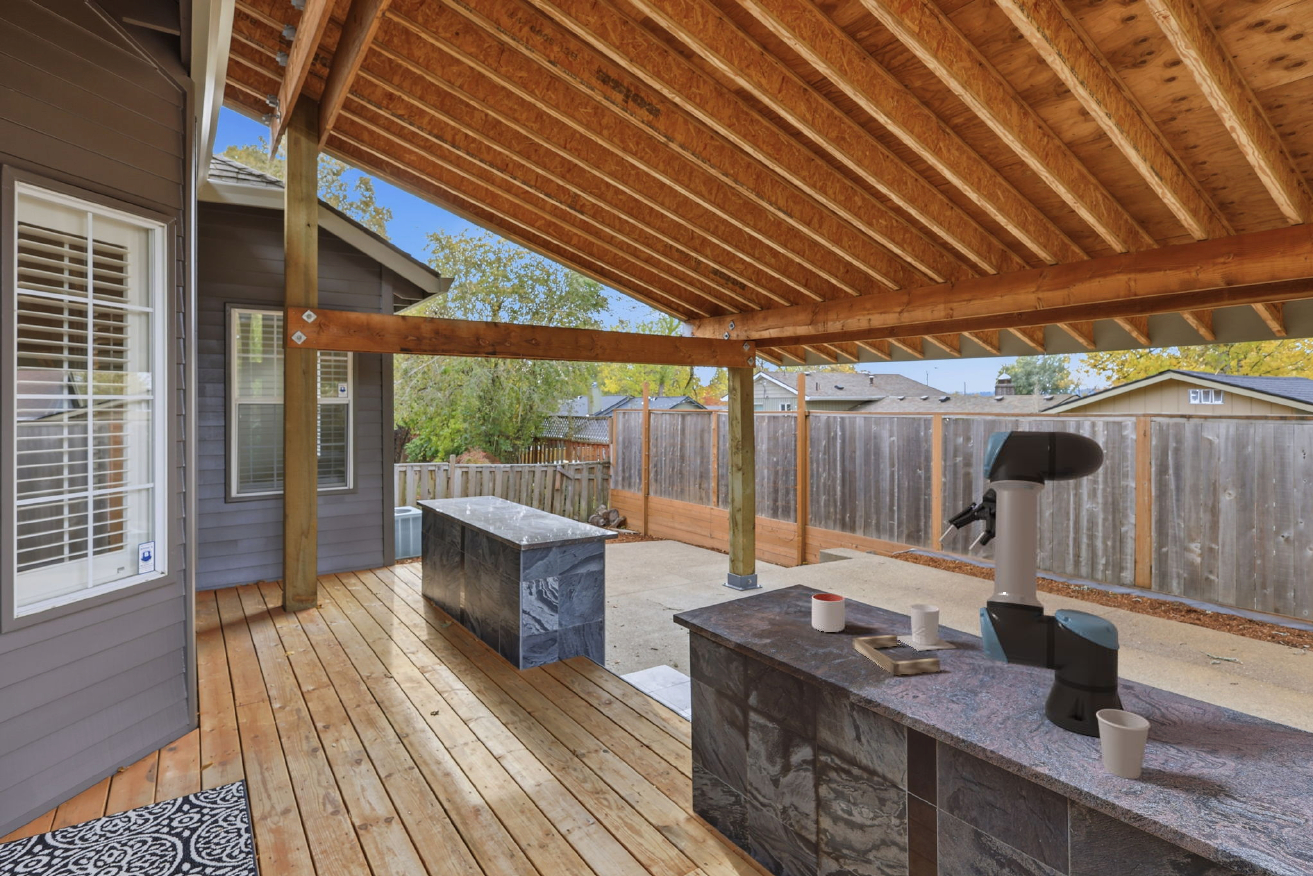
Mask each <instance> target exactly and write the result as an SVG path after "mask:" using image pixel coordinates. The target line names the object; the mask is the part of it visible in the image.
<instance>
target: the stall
mask: <svg viewBox="0 0 1313 876" xmlns="http://www.w3.org/2000/svg"><path fill="white" fill-rule="evenodd" d="M851 640H852V641H851V648H852V647H853V648H854V649H856V650H857V651H858V652H859V653H861V654H863V655H864V656H866V657H867V658H869V659H870V660H872V661H873V662H875V663H876V664H877V665H876V664H875V663H874V664H875V665H876V666H878V665H879V666H880V668H881V667H882V668H883V669H882V668H881V669H882V670H884V669H885V670H887V671H888V672H890V673H891V674H893V675H898V676H902V675H901V674H908V675H915V674H916V673H918V674H923V673H922V672H928V673H936V671H938V672H940V670H941V659H939V658H938V657H933V658H932V657H931V658H923V659H920V658H919V659H911V660H900V661H895V660H893V659H892V658H890V657H888V655H885V654H883V653H882V652H880V651H879V650H878V648H877V647H888V648H892V647H891V646H897V647H898V640H897V635H895V634H888V635H887V634H886V635H876V636H874V635H873V636H865V637H862V636H861V637H855V638H854V637H853V638H851ZM874 648H877V649H874ZM858 652H857V653H858ZM859 653H858V654H859ZM861 654H860V655H861ZM864 656H863V657H864ZM866 657H865V658H866ZM867 658H866V659H867ZM869 659H868V660H869ZM870 660H869V661H870ZM872 661H871V662H872ZM873 662H872V663H873ZM879 666H878V667H879ZM885 670H884V671H885ZM887 671H886V672H887ZM888 672H887V673H888ZM890 673H889V674H890ZM891 674H890V675H891ZM893 675H892V676H893ZM916 675H917V674H916Z"/></svg>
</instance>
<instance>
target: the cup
mask: <svg viewBox="0 0 1313 876" xmlns="http://www.w3.org/2000/svg"><path fill="white" fill-rule="evenodd" d="M845 601H846V598H845V597H844V596H842V595H839V594H837V593H836V594H835V593H825V592H824V593H816V594H813V595H812V596H811V626H812V627H813V629H814V630H816V629H817V630H816V631H818V630H819V631H818V632H821V631H824V632H823V633H826V632H836V633H839V631H840V632H841V631H844V629H845V624H846V622H845V621H846V620H845V619H846V616H845V614H846V613H845V612H846V608H845V607H846V605H845V604H846V602H845Z"/></svg>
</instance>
